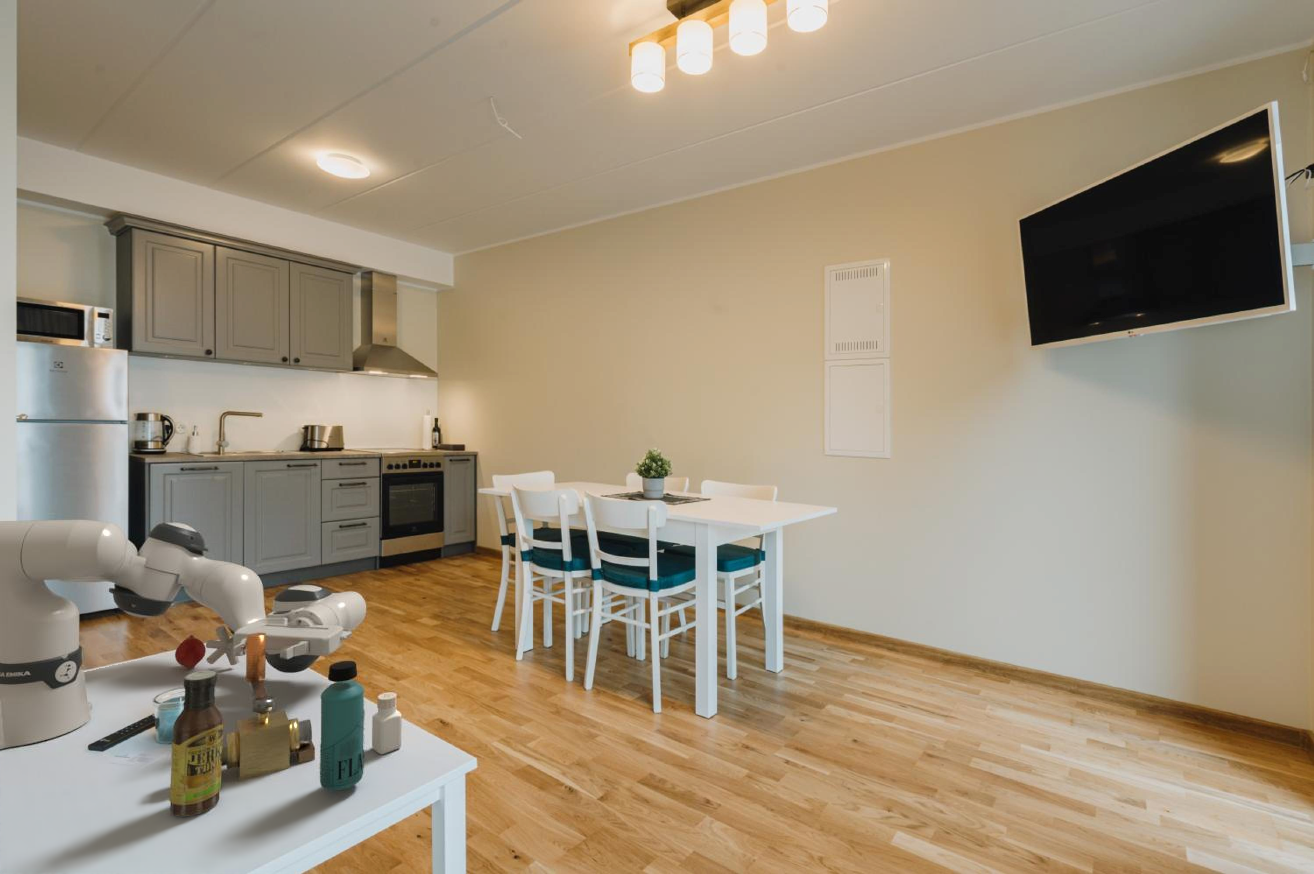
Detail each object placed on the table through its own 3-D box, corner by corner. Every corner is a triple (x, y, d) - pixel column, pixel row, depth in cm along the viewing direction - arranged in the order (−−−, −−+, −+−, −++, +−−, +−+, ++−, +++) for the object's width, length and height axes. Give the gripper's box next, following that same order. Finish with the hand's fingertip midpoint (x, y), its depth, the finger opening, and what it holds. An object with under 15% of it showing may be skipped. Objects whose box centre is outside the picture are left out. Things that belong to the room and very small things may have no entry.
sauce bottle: (187, 823, 92) (189, 686, 92) (159, 813, 94) (161, 679, 94) (231, 800, 98) (233, 671, 97) (204, 790, 100) (205, 664, 100)
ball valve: (182, 796, 98) (182, 735, 98) (181, 779, 103) (181, 720, 103) (315, 760, 110) (315, 705, 110) (309, 746, 114) (309, 693, 114)
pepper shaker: (370, 748, 114) (371, 695, 114) (392, 740, 117) (393, 689, 117) (380, 756, 111) (381, 702, 111) (402, 748, 114) (403, 695, 114)
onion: (168, 671, 147) (168, 637, 147) (190, 663, 153) (190, 629, 153) (190, 674, 146) (190, 639, 146) (211, 664, 152) (212, 631, 152)
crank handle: (275, 709, 107) (276, 655, 107) (253, 714, 105) (254, 658, 105) (264, 680, 119) (265, 631, 119) (244, 684, 117) (245, 634, 117)
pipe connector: (236, 679, 144) (220, 644, 140) (199, 676, 146) (183, 641, 143) (268, 649, 153) (255, 615, 149) (233, 646, 155) (219, 613, 152)
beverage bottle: (334, 805, 97) (335, 674, 97) (309, 791, 100) (311, 665, 100) (373, 785, 102) (374, 661, 102) (348, 773, 106) (350, 653, 106)
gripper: (356, 646, 130) (311, 673, 116) (265, 641, 133) (210, 666, 119) (356, 616, 130) (311, 639, 116) (265, 611, 132) (210, 633, 119)
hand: (259, 653), depth 117 cm, fingers open, 8 cm apart
